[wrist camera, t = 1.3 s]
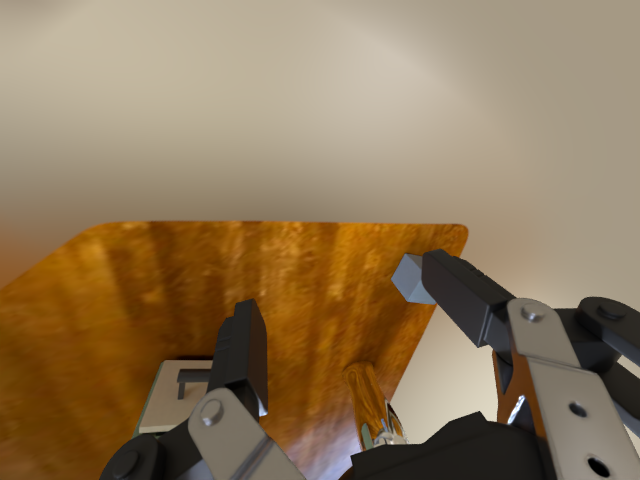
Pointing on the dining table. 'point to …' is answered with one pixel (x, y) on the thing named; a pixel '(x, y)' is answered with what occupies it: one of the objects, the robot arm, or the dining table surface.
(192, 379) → the drawer
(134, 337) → the dining table surface
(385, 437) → the metal cup
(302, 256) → the dining table surface
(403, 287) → the block
